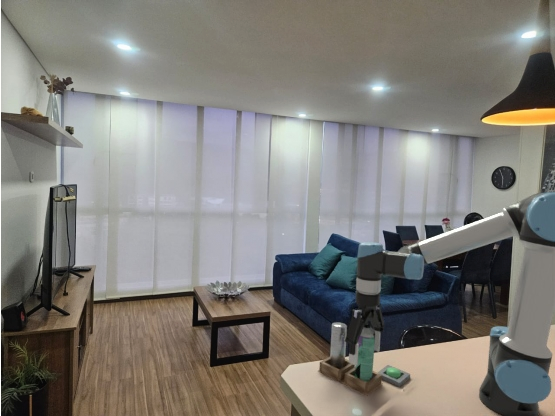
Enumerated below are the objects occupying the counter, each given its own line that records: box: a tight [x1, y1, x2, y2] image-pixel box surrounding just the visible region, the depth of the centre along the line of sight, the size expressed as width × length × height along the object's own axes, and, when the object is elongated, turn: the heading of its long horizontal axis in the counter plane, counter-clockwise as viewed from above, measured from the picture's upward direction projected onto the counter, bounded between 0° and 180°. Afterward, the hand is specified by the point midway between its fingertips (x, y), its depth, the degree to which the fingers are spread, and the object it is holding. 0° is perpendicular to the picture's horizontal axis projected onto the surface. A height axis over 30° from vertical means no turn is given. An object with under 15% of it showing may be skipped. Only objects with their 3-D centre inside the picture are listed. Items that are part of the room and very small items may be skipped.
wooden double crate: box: [317, 356, 384, 396], centre depth 117 cm, size 19×10×4 cm, turn 46°
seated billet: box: [329, 321, 348, 369], centre depth 120 cm, size 5×5×16 cm
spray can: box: [355, 321, 375, 382], centre depth 113 cm, size 6×6×20 cm
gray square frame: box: [377, 364, 411, 388], centre depth 118 cm, size 8×8×2 cm
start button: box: [386, 366, 401, 379], centre depth 118 cm, size 4×4×3 cm
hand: (364, 356), depth 113 cm, fingers open, 13 cm apart
